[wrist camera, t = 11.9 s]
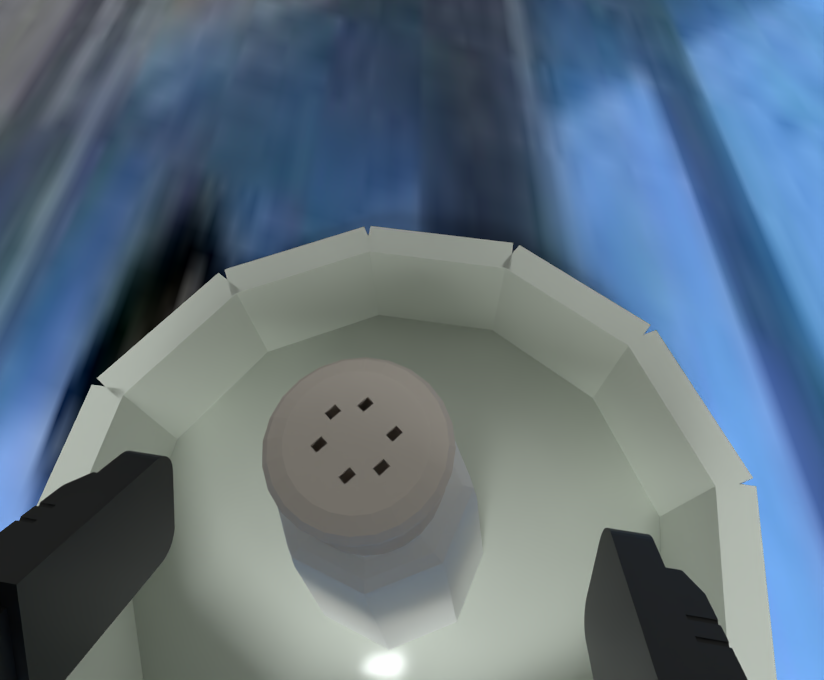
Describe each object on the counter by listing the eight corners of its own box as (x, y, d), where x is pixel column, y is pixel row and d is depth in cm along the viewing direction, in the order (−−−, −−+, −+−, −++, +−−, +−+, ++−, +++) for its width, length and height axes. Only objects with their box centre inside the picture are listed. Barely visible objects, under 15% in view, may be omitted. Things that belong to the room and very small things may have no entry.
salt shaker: (271, 545, 18) (91, 430, 8) (400, 431, 20) (375, 223, 10) (387, 695, 16) (326, 773, 6) (519, 555, 18) (631, 447, 8)
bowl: (3, 590, 19) (-129, 573, 14) (372, 237, 25) (361, 148, 20) (447, 1143, 13) (457, 1401, 9) (780, 508, 19) (886, 468, 15)
